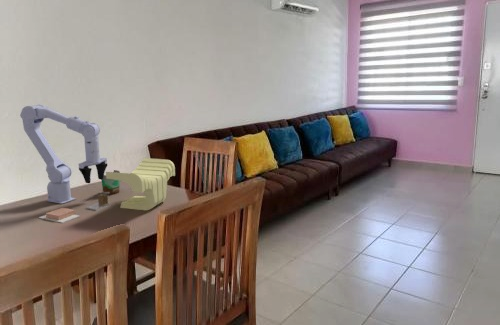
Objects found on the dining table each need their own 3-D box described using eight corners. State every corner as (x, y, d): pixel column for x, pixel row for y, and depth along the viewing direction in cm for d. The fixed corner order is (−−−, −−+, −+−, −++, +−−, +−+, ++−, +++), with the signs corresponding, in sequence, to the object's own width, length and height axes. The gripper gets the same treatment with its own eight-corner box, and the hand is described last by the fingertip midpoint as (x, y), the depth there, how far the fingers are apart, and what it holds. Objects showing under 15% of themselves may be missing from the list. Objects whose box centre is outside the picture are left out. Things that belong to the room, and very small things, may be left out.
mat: (38, 217, 156) (38, 217, 156) (56, 211, 163) (56, 211, 163) (62, 223, 151) (62, 222, 151) (79, 216, 158) (79, 215, 158)
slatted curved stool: (143, 217, 158) (141, 174, 154) (108, 213, 162) (105, 171, 158) (175, 196, 186) (174, 160, 183) (145, 194, 190) (143, 158, 187)
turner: (100, 204, 175) (99, 193, 174) (110, 206, 173) (109, 195, 172) (86, 209, 168) (85, 197, 167) (96, 211, 166) (95, 199, 165)
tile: (62, 211, 163) (46, 217, 156) (62, 207, 162) (45, 213, 155) (75, 214, 160) (59, 220, 153) (75, 210, 160) (58, 216, 153)
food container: (113, 196, 185) (112, 176, 183) (101, 196, 186) (100, 175, 184) (126, 189, 197) (125, 170, 195) (115, 189, 198) (114, 169, 196)
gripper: (86, 154, 166) (88, 185, 168) (111, 149, 179) (113, 178, 181) (74, 153, 168) (76, 183, 171) (99, 148, 181) (101, 176, 184)
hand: (94, 181), depth 176 cm, fingers open, 7 cm apart
